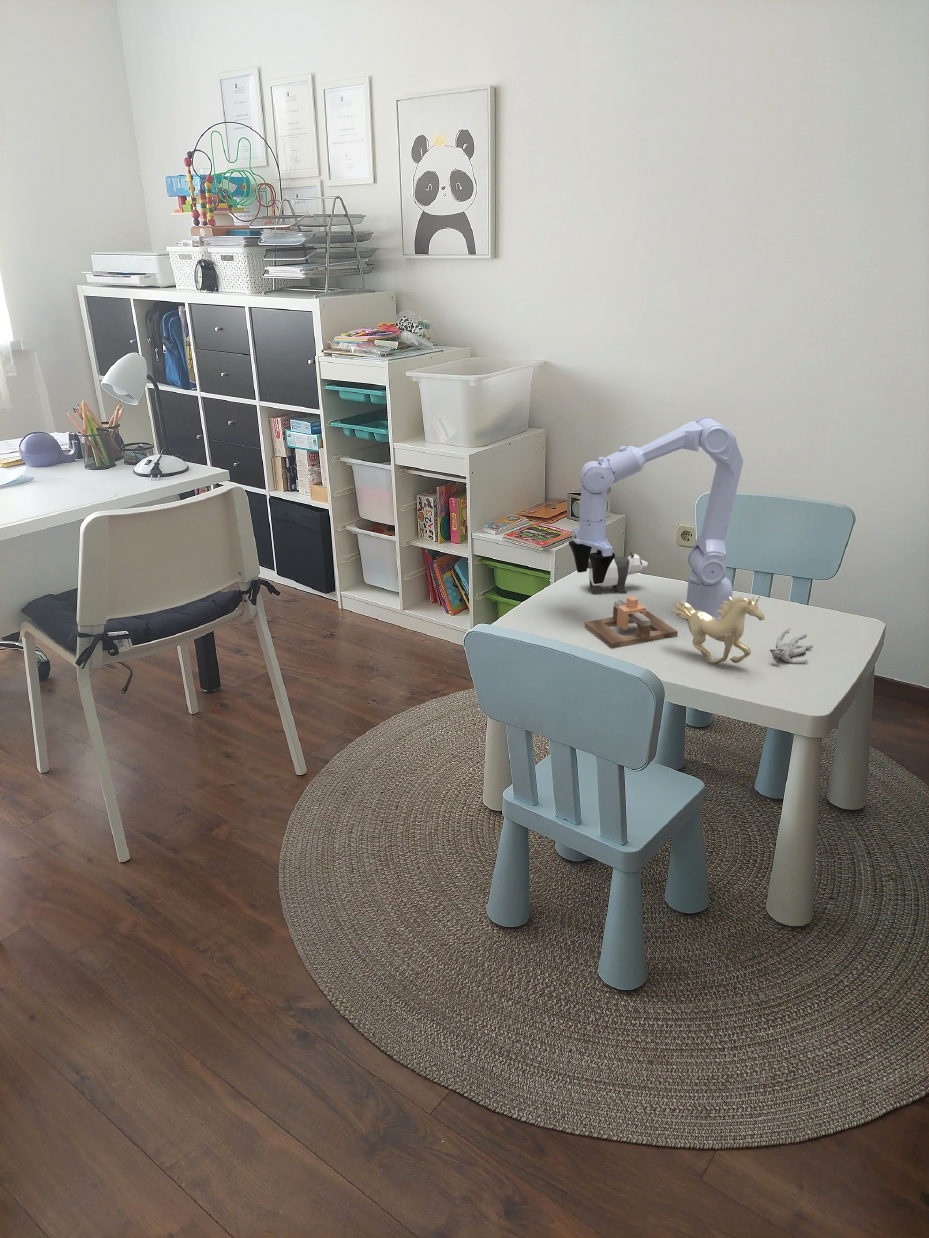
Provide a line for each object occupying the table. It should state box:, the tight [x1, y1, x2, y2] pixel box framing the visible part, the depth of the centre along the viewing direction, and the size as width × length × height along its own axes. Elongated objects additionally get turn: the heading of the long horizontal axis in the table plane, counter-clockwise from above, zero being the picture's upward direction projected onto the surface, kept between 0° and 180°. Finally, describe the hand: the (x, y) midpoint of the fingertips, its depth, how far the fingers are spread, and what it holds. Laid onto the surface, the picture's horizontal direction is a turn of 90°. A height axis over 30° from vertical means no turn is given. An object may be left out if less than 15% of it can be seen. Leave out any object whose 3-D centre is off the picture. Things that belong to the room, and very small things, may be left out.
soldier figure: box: [769, 628, 814, 665], centre depth 181 cm, size 8×5×12 cm
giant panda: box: [588, 551, 649, 595], centre depth 215 cm, size 15×6×10 cm, turn 94°
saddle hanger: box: [617, 595, 647, 631], centre depth 192 cm, size 5×3×6 cm, turn 111°
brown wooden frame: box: [584, 599, 679, 649], centre depth 193 cm, size 16×12×5 cm
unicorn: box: [670, 593, 766, 665], centre depth 177 cm, size 20×4×17 cm, turn 47°
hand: (590, 577), depth 197 cm, fingers open, 7 cm apart
